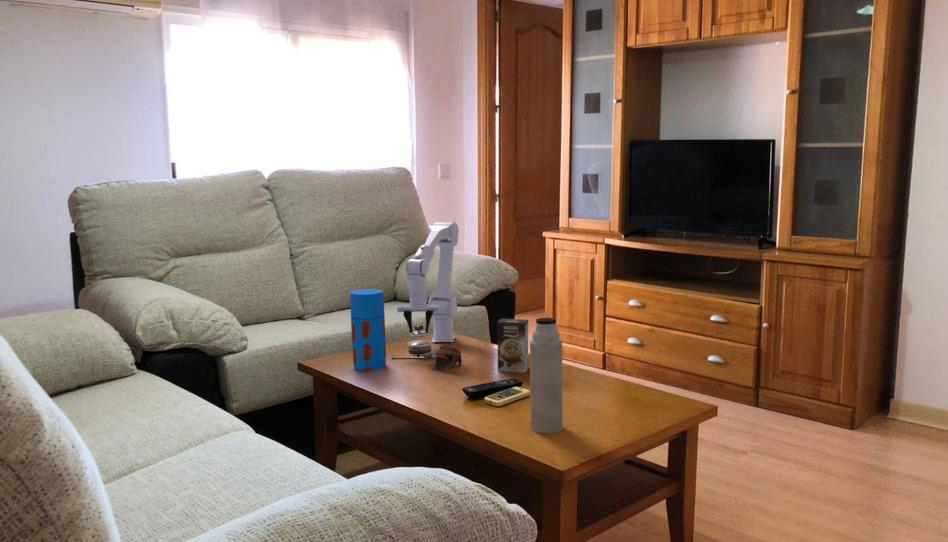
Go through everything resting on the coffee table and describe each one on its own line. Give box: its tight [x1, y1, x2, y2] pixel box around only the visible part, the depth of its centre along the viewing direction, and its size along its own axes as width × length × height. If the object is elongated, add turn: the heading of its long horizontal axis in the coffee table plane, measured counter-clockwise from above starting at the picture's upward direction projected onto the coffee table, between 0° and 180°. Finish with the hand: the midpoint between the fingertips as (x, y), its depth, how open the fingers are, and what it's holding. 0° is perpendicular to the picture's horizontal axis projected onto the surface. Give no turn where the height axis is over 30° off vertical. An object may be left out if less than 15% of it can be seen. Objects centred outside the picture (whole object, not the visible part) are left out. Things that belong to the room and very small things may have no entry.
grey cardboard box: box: [497, 318, 529, 374], centre depth 249 cm, size 9×6×16 cm
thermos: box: [349, 288, 387, 372], centre depth 255 cm, size 11×11×25 cm
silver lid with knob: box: [409, 324, 429, 338], centre depth 271 cm, size 6×6×3 cm
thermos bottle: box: [529, 317, 564, 434], centre depth 194 cm, size 8×8×28 cm
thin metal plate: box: [391, 339, 440, 359], centre depth 272 cm, size 13×18×4 cm
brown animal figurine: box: [432, 345, 463, 372], centre depth 253 cm, size 12×10×8 cm
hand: (419, 332), depth 272 cm, fingers open, 5 cm apart
